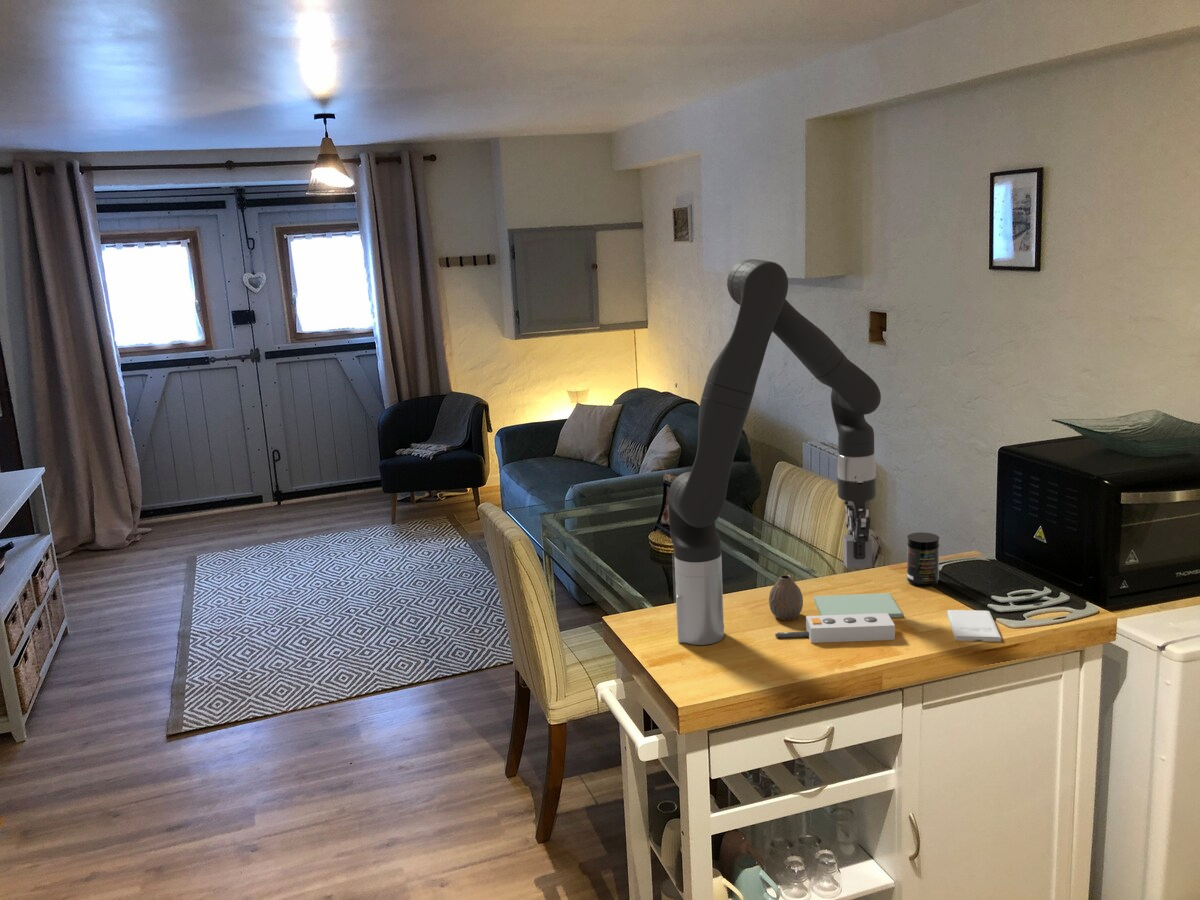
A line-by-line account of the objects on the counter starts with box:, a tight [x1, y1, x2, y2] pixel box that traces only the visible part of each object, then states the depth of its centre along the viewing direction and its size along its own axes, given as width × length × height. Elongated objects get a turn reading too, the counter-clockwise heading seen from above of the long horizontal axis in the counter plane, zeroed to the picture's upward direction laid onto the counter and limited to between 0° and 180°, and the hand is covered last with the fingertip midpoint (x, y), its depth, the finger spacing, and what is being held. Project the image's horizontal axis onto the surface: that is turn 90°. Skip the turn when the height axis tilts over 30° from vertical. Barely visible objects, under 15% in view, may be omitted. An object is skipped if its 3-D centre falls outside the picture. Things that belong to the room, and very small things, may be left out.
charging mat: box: [813, 592, 903, 619], centre depth 206 cm, size 16×11×1 cm
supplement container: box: [906, 532, 941, 588], centre depth 217 cm, size 7×7×10 cm
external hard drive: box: [946, 609, 1002, 642], centre depth 194 cm, size 2×8×12 cm
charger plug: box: [842, 534, 873, 569], centre depth 203 cm, size 5×4×6 cm
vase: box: [768, 574, 804, 621], centre depth 203 cm, size 7×7×9 cm
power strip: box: [774, 613, 896, 644], centre depth 194 cm, size 22×6×3 cm, turn 87°
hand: (857, 554), depth 203 cm, fingers closed on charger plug, 3 cm apart
